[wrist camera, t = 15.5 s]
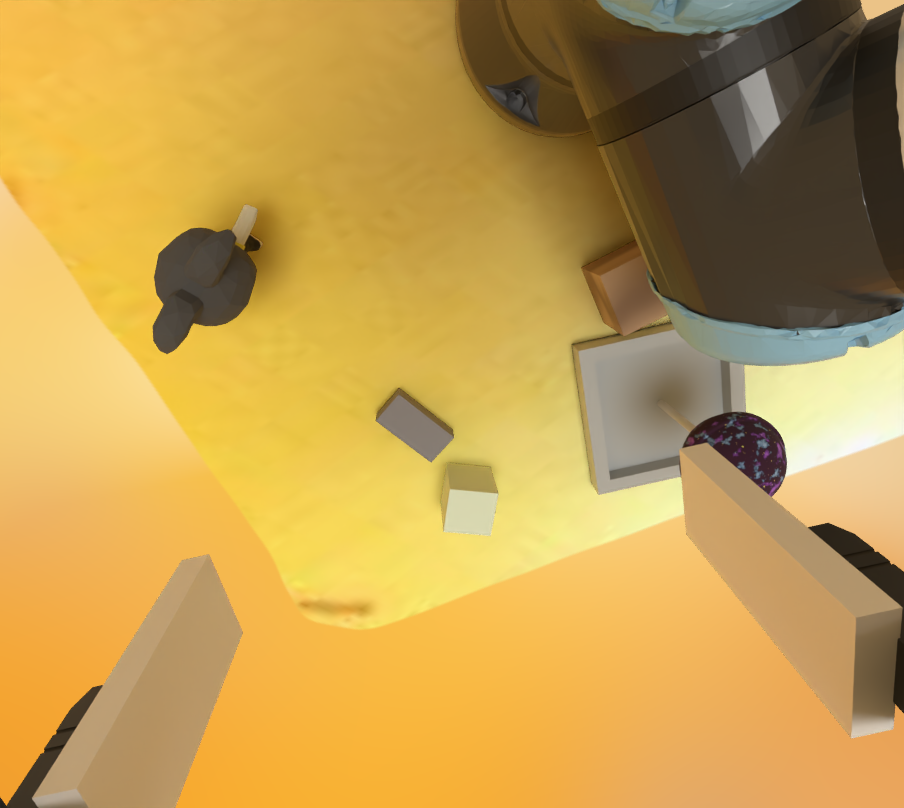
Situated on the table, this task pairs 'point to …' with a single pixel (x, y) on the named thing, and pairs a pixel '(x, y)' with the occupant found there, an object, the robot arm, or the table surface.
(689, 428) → the lollipop
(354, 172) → the table surface
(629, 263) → the walnut cube
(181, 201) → the table surface
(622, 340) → the tray
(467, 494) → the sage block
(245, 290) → the toy
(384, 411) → the rubber eraser
